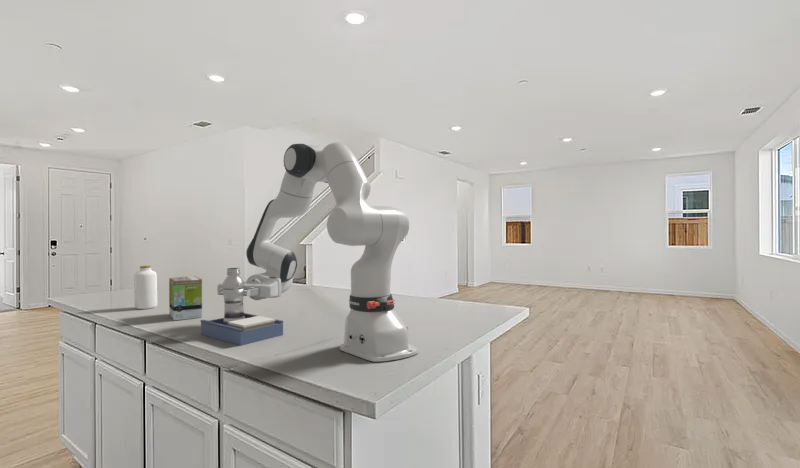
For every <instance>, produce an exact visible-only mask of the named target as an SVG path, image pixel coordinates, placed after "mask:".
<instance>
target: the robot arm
mask: <svg viewBox="0 0 800 468" xmlns="http://www.w3.org/2000/svg"><path fill="white" fill-rule="evenodd" d="M283 167H284V169H285V173H284V175H283V178H282V180H281V184H280V189H279V192H278V194H277V196H276V197H275V198H274V199H271V200H270V201H269V202H268V203H267V205H266V206H265V209H264V211H263V212H262V215H261V218H260V220H259V223H258V226H257V228H256V231H255V233H254V235H253V238H252V239H251V241H250V243H249V244H248V245H247V246H248V247H247V248H246V252H245V253H246V254H245V255H246V259H247V262H248V264H250V265H251V266H256V267H257V268H261V269H264V270H265V272H261V273H256V274H255V273H254V274H253V275H250V276H249V277H248V278H247V279H246V281H244V284H245V288H244V291H243V297H249V298H250V299H252V300H253V301H260V300H261V301H262V300H266V299H272V298H274V299H276V298H280V297H282V294H284V293H285V292H287V291H288V290H289V289H290V288H291V287H292V285H293V282H294V281H293V280H294V279H293V278H294V277H293V276H294V275H295V273H296V271H297V269H298V268H297V267H298V260H297V256H296V253H295V252H294V251H291V250H289V249H287V248H285V247H282V246H280V245H277V244H275V243H273V242H271V240H270V239H271V236H272V233H273V231H274V228H275V226H276V223H277V221H278V220H279V219H283V218H285V219H287V218H289V219H290V218H298V217H301V216H302V215H305V213H307V211H308V210H310V206H311V204H312V201H313V195H314V191H315V186H316V184H317V183H318V182H320V183H321V182H322V183H326V184H328V187H329V188H330V189H331V192H332V195H333V197H334V200H335V207H334V208H333V209H332V210H331V212H330V213H329V216H328V218H327V221H326V230H327V233H328V236H329V237H330V239H331V241H333V242H334V243H336V244H340V245H344V246H351V247H356V246H364V250H363V254H361V256H360V258H358V260H356V261H355V262H354V263H353V264H352V266H351V269H350V295H349V299H348V303H349V305H348V306H349V309H350V311H349V313H348V315H347V316H346V317H345V322H344V336H343V337H344V339H343V341H344V342H343V343H342V344H340V345H339V351H342V352H345V353H347V354H350V355H352V356H356V357H359V358H361V359H363V360H366V361H370V362H376V363H377V362H389V361H390V362H391V361H396V360H401V359H404V358H409V357H412V356H415V355H417V354H418V353H419V349H418V348H417V347H416V346H415V345H413V344H411V343H410V341H409V339H410V338H409V326H408V324H406V323H405V324H404V322H403V320H402V319H401V318H400V316H399V315H398V314H397V312H396V311H395V305H396V303H395V301H396V300H395V299H394V298H393V294H392V293H391V279H392V278H391V276H392V275H391V273H392V264H393V260H394V257H395V253H396V251H397V249H398V247H399V245H400V244H401V243H402V242H403V240H404V239H406V238H407V236H408V234H409V231H410V222H409V221H410V220H409V217H408V215H407V214H406V212H404V211H403V210H402V209H398V208H396V207H395V208H394V207H392V206H383V205H379V206H377V205H371V204H369V203H367V201H366V200H367V199H368V197H369V196H370V194H371V190H372V189H371V187H372V186H371V183H370V181H369V178H368V177H367V174H366V173H365V171H364V169H363V167H362V165H361V163H360V162H359V160H358V159H357V157H356V156H355V154H354V153H353V151H351V149H350V148H349V147H348V146H347V145H346V144H344V143H342V142H332V143H331V142H330V143H329V144H327V145H326V146H325V147H322V146H320V145H319V146H318V145H313V144H305V143H293V144H291V145H289V147H287V149H286V150H285V152H284V155H283ZM222 284H223V282H222V283H218V284H217V287H216V288H217V289H216V290H217V295H218V296H224V295H223V289H222Z"/></svg>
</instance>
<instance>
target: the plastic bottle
mask: <svg viewBox="0 0 800 468" xmlns="http://www.w3.org/2000/svg"><path fill="white" fill-rule="evenodd" d="M240 274H241V268H240V267H227V269H226V275H227V277H226V278H225V279H224V280H223V282H222V283H223V284H222V289H223V295H222V296H223V302H224V315H223V318H224V320H223V325H228V326H229V324H228V322H230V321H235V320H240V319H245V316H244V313H245V311H244V310H245V309H244V296H243V291H244V288H245V284H244V282H245V281H244V280H243V278H242V277H241V276H240Z"/></svg>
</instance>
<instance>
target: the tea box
mask: <svg viewBox="0 0 800 468" xmlns="http://www.w3.org/2000/svg"><path fill="white" fill-rule="evenodd" d="M168 282H169V283H168V284H169V285H168V286H169V287H168V290H169V293H168V294H169V295H168V297H169V298H168V299H169V301H168V303H169V308H168V309H169V315H170V317H171V319H172V320H173V321H182V320H183V321H184V320H190V319H192V320H193V319H199V318H202V317H203V279H202V278H200V277H198V276H178V277H177V276H176V277H169V281H168Z"/></svg>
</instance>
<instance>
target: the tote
mask: <svg viewBox="0 0 800 468" xmlns="http://www.w3.org/2000/svg"><path fill="white" fill-rule="evenodd" d="M244 316H245V318H250V317H255V316H258V315H256V314H251V313H246V312H244ZM274 319H275V321H274V324H272V325H268V326H263V327H259V328H254V329H250V330H245V331H244V329H240V328H236V327H232V326H228V325H223V320H224V317H220V318H216V319H209V320H207V319H200V334H201V335H203V336H206V337H210V338H213V339H216V340H219V341H223V342H226V343H231V344H233V345H236V346H241V347H242V346H246V345H249V344H255V343H258V342H261V341H265V340H269V339H270V340H271V339H274V338H277V337H278V338H279V337H281V336H284V320H282V319H281V320H280V319H276V318H274Z"/></svg>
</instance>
